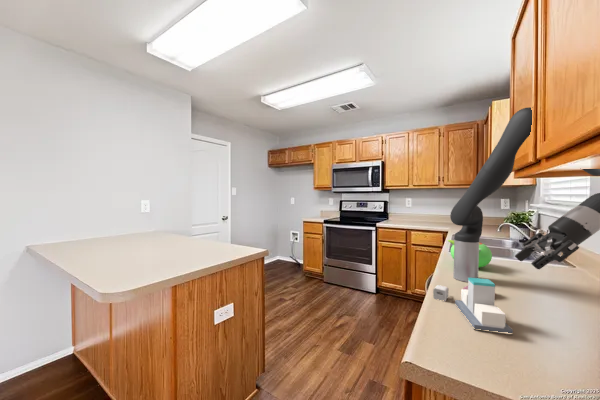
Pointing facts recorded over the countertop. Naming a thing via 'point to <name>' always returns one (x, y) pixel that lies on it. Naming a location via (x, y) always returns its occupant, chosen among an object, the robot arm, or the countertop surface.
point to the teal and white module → (480, 292)
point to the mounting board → (475, 322)
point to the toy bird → (484, 254)
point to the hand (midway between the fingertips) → (525, 262)
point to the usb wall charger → (440, 292)
